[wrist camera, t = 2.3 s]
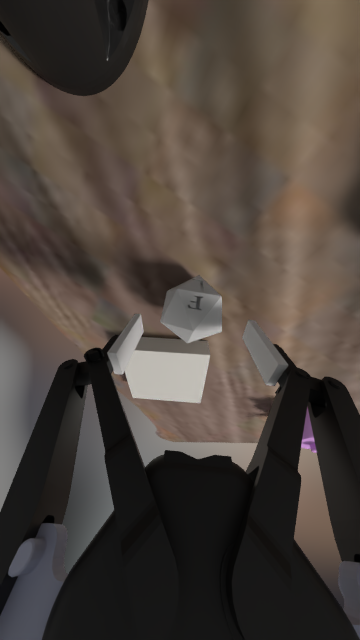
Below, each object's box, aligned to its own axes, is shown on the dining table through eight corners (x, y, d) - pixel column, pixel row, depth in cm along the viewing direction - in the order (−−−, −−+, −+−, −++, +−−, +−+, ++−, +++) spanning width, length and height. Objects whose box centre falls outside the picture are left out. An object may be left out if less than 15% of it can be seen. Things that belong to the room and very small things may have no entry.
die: (224, 274, 22) (246, 301, 13) (209, 321, 26) (218, 362, 18) (171, 265, 21) (158, 287, 13) (166, 314, 26) (154, 352, 18)
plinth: (125, 335, 30) (117, 349, 27) (208, 340, 29) (210, 355, 26) (137, 383, 40) (132, 397, 36) (199, 388, 39) (200, 403, 36)
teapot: (283, 393, 38) (309, 437, 29) (323, 405, 39) (357, 450, 31) (251, 414, 45) (264, 454, 37) (285, 423, 47) (305, 464, 39)
